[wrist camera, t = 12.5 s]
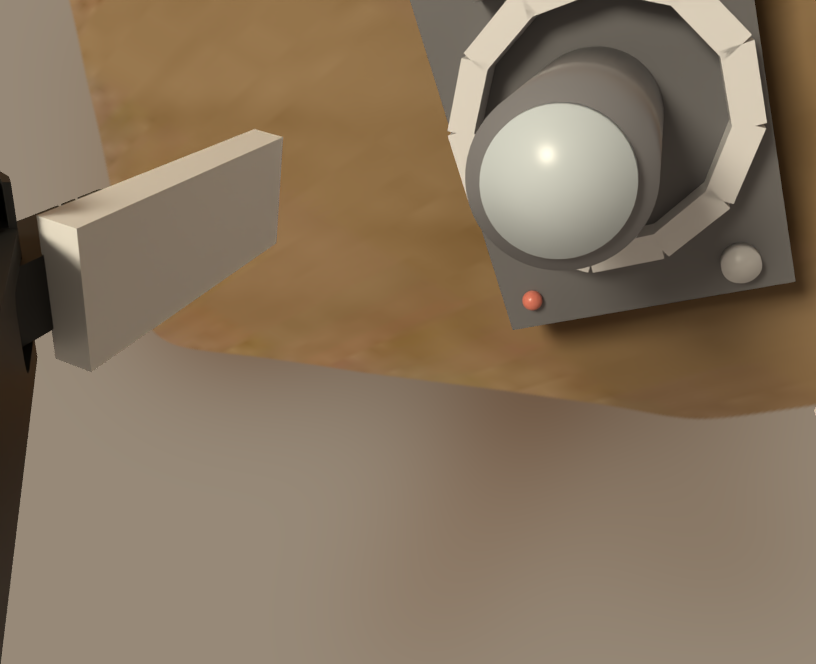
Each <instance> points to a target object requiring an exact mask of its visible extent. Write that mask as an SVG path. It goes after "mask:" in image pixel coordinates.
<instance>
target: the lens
mask: <svg viewBox="0 0 816 664" xmlns="http://www.w3.org/2000/svg"><path fill="white" fill-rule="evenodd" d="M663 123H664V106H663V99H662V95H661V92H660V89H659V86H658V84H657V82H656V80H655V78H654V77H653V75H652V74H651V72H650V71H649V70H648V69H647V68H646V66H645V65H643V64H642V63H641V62H640V61H639V60H638V59H636V58H635V57H633V56H631V55H630V54H628V53H626V52H623V51H621V50H618V49H614V48H610V47H603V46H591V47H584V48H580V49H576V50H573V51H570V52H568V53H565V54H563V55H562V56H560V57H558V58H557V59H555V60H554V61H552V62H551V63H550V64H548V65H547V66H546V67H545V68H544V69H542V70H541V71H540V72H539V73H537V74H536V75H535V76H534V77H532V78H531V79H530V80H529V81H527V82H526V83H525V84H524V85H522V86H521V87H520V88H519V89H517V90H516V91H515V92H514V93H512V94H511V95H510V96H509V97H508V98H506V99H505V100H504V101H503V102H501V103H500V104H499V105H498V106H497V107H496V108H495V109H494V110H493V111H492V112H491V113H490V114H489V115H488V116H487V117H486V119H485V120H484V121H483V123H482V124H481V125H480V127H479V129H478V131H477V132H476V134H475V136H474V138H473V141H472V143H471V146H470V149H469V152H468V156H467V161H466V169H465V185H466V193H467V198H468V201H469V205H470V208H471V210H472V213H473V216H474V218H475V219H476V221H477V223H478V225H479V227H480V228H481V229H482V231H483V232H484V234H485V235H486V236H487V237H488V238H489V239H490V240H491V242H492V243H493V244H494V245H495V246H497V247H498V248H499V249H500V250H501V251H503V252H504V253H506V254H507V255H509V256H510V257H512V258H513V259H516V260H518V261H520V262H522V263H524V264H527V265H530V266H533V267H536V268H541V269H545V270H555V271H568V270H576V269H582V268H586V267H590V266H593V265H596V264H598V263H601V262H603V261H605V260H607V259H609V258H611V257H613V256H614V255H616V254H617V253H619V252H620V251H621V250H623V249H624V248H625V247H627V246H628V245H629V244H630V243H631V242H632V241H633V240H634V239H635V238H636V236H637V235H638V234H639V233H640V231H641V230H642V229H643V227H644V226H645V224H646V223H647V221H648V219H649V217H650V215H651V213H652V211H653V208H654V206H655V203H656V199H657V195H658V190H659V183H660V170H661V154H662V139H663Z"/></svg>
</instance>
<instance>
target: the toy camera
mask: <svg viewBox="0 0 816 664" xmlns="http://www.w3.org/2000/svg"><path fill="white" fill-rule="evenodd" d="M410 2H411V5H412V8H413V11H414V15H415V18H416V21H417V24H418V27H419V31H420V34H421V37H422V40H423V44H424V47H425V50H426V53H427V56H428V60H429V63H430V66H431V69H432V72H433V76H434V79H435V82H436V85H437V88H438V92H439V95H440V98H441V101H442V104H443V108H444V111H445V114H446V117H447V120H448V124H449V126H448V131H449V132H451V134H450V135H448V138H449V141H450V144H451V148H452V151H453V154H454V157H455V160H456V163H457V167H458V170H459V173H460V176H461V179H462V183H463V186H464V189H465V192H466V185H465V169H466V161H467V156H468V152H469V149H470V146H471V143H472V141H473V138H474V136H475V134H476V132H477V131H478V129H479V127H480V125H481V124H482V123H483V121H484V120H485V119H486V117H487V116H488V115H489V114H490V113H491V112H492V111H493V110H494V109H495V108H496V107H497V106H498V105H499V104H500V103H501V102H503V101H504V100H505V99H506V98H508V97H509V96H510V95H511V94H512V93H514V92H515V91H516V90H517V89H519V88H520V87H521V86H522V85H524V84H525V83H526V82H527V81H529V80H530V79H531V78H532V77H534V76H535V75H536V74H537V73H539V72H540V71H541V70H542V69H544V68H545V67H546V66H547V65H548V64H550V63H551V62H552V61H554V60H555V59H557V58H558V57H560V56H562V55H563V54H565V53H568V52H570V51H573V50H576V49H580V48H584V47H591V46H603V47H610V48H614V49H618V50H621V51H623V52H626V53H628V54H630V55H631V56H633V57H635V58H636V59H638V60H639V61H640V62H641V63H642V64H643V65H645V66H646V68H647V69H648V70H649V71H650V72H651V74H652V75H653V77H654V78H655V80H656V82H657V84H658V86H659V89H660V92H661V95H662V99H663V106H664V123H663V139H662V154H661V170H660V183H659V190H658V195H657V199H656V203H655V206H654V208H653V211H652V213H651V215H650V217H649V219H648V221H647V223H646V224H645V226H644V227H643V229H642V230H641V231H640V233H639V234H638V235H637V236H636V238H635V239H634V240H633V241H632V242H631V243H630V244H629V245H628V246H627V247H625V248H624V249H623V250H621V251H620V252H619V253H617V254H616V255H614V256H613V257H611V258H609V259H607V260H605V261H603V262H601V263H598V264H596V265H593V266H590V267H586V268H582V269H576V270H568V271H555V270H545V269H541V268H536V267H533V266H530V265H527V264H524V263H522V262H520V261H518V260H516V259H513V258H512V257H510V256H509V255H507V254H506V253H504V252H503V251H501V250H500V249H499V248H498V247H497V246H495V245H494V244H493V243H492V242H491V240H490V239H489V238H488V237H487V236H486V235H485V234H484V232H483V231H482V233H483V236H484V239H485V242H486V245H487V249H488V252H489V255H490V258H491V261H492V265H493V268H494V271H495V274H496V277H497V281H498V284H499V287H500V290H501V294H502V297H503V300H504V303H505V306H506V310H507V313H508V316H509V319H510V322H511V326H512V329H513V330H515V329H521V328H527V327H533V326H539V325H545V324H550V323H556V322H562V321H568V320H574V319H580V318H586V317H591V316H597V315H603V314H609V313H615V312H621V311H627V310H632V309H638V308H644V307H650V306H656V305H662V304H668V303H673V302H679V301H685V300H691V299H697V298H703V297H709V296H714V295H720V294H726V293H732V292H738V291H744V290H750V289H756V288H761V287H767V286H773V285H779V284H785V283H791V282H796V281H795V274H794V267H793V260H792V253H791V247H790V240H789V233H788V226H787V219H786V212H785V206H784V199H783V192H782V185H781V178H780V171H779V164H778V158H777V151H776V144H775V137H774V130H773V123H772V117H771V110H770V103H769V96H768V89H767V82H766V75H765V69H764V62H763V55H762V48H761V41H760V34H759V28H758V21H757V14H756V7H755V0H410ZM466 195H467V193H466Z"/></svg>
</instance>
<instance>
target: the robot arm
mask: <svg viewBox="0 0 816 664" xmlns="http://www.w3.org/2000/svg"><path fill="white" fill-rule="evenodd" d="M282 144H283V137H281V136H277V135H273V134H270V133H266V132H263V131H259V130H255V129H254V130H251V131H249V132H246V133H244V134H241V135H239V136H236V137H233V138H231V139H228V140H226V141H223V142H221V143H218V144H216V145H213V146H211V147H208V148H206V149H203V150H201V151H198V152H196V153H193V154H191V155H188V156H185V157H183V158H180V159H178V160H175V161H173V162H170V163H168V164H165V165H163V166H160V167H158V168H155V169H153V170H150V171H148V172H145V173H143V174H140V175H137V176H135V177H132V178H130V179H127V180H125V181H122V182H120V183H117V184H115V185H112V186H110V187H107V188H105V189H99V190H96V191H93V192H91V193H88V194H86V195H83V196H81V197H78V199H77V200H75V199H73V200H70V201H68V202H65V203H63V204H61V206H55V207H53V208H50V209H47V210H45V211H42V212H40V213H37V214H35V215H32V216H30V217H27V218H25V219H22V220H19V221H16V215H15V208H14V201H13V195H12V188H11V182H10V179H9V177H8V176H7V175H5V174H3V173H2V172H0V664H1V656H2V647H3V639H4V631H5V622H6V614H7V606H8V596H9V589H10V580H11V572H12V564H13V556H14V547H15V539H16V531H17V522H18V514H19V506H20V497H21V489H22V480H23V472H24V463H25V456H26V447H27V439H28V431H29V422H30V413H31V406H32V397H33V389H34V379H35V371H36V364H37V353H36V346H35V339H37V338H39V337H41V336H42V335H44V334H46V333H48V332H49V331H51V330H52V335H53V342H54V349H55V357H56V359H59V360H61V361H64V362H66V363H69V364H72V365H75V366H77V367H80V368H82V369H85V370H88V371H90V372H92V371H93V370H95V369H96V368H98V367H99V366H100V365H102V364H103V363H105V362H106V361H108V360H109V359H111V358H112V357H113V356H115V355H116V354H118V353H119V352H121V351H122V350H124V349H125V348H126V347H128V346H129V345H131V344H132V343H134V342H135V341H136V340H138V339H139V338H141V337H142V336H144V335H145V334H146V333H148V332H149V331H151V330H152V329H154V328H155V327H157V326H158V325H159V324H161V323H162V322H164V321H165V320H167V319H168V318H169V317H171V316H172V315H174V314H175V313H177V312H178V311H179V310H181V309H182V308H184V307H185V306H187V305H188V304H190V303H191V302H192V301H194V300H195V299H197V298H198V297H200V296H201V295H202V294H204V293H205V292H207V291H208V290H210V289H211V288H212V287H214V286H215V285H217V284H218V283H220V282H221V281H222V280H224V279H225V278H227V277H228V276H230V275H231V274H233V273H234V272H235V271H237V270H238V269H240V268H241V267H243V266H244V265H245V264H247V263H248V262H250V261H251V260H253V259H254V258H255V257H257V256H258V255H260V254H261V253H263V252H264V251H266V250H267V249H268V248H270V247H271V246H273V245H274V244H276V239H277V223H278V207H279V192H280V176H281V160H282ZM814 412H815V415H816V408H815V410H814Z"/></svg>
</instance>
